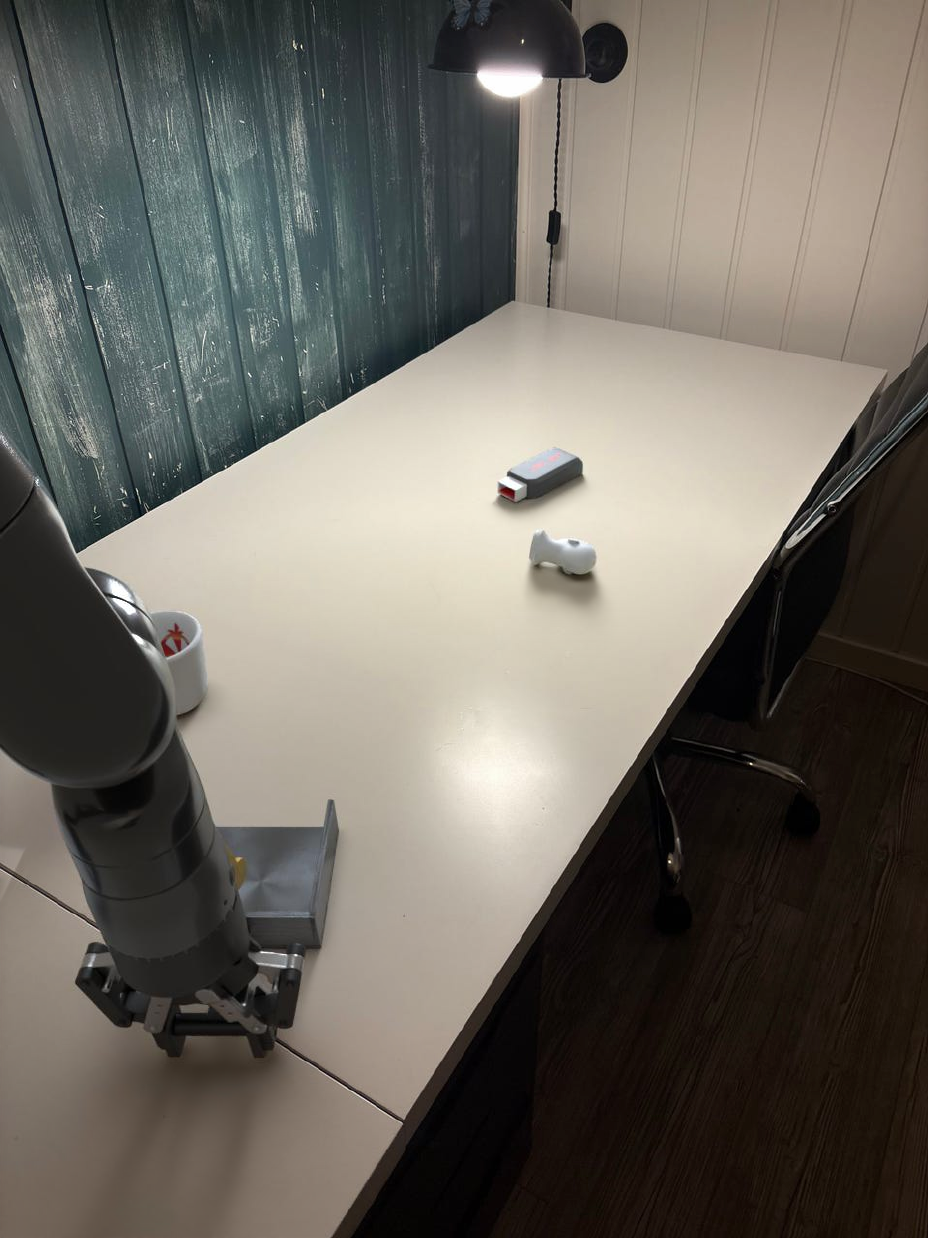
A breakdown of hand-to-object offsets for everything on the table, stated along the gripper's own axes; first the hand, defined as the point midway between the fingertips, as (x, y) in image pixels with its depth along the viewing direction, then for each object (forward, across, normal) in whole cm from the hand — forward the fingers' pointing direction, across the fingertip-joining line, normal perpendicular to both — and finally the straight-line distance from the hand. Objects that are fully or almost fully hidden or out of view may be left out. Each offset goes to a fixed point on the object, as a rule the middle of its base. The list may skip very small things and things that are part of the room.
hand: (221, 1044), depth 62 cm
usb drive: (+2, +25, +76) cm, 80 cm away
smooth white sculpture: (+2, +27, +58) cm, 64 cm away
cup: (+2, -14, +36) cm, 38 cm away
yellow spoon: (-5, -1, +11) cm, 12 cm away
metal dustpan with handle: (+1, 0, +9) cm, 9 cm away
